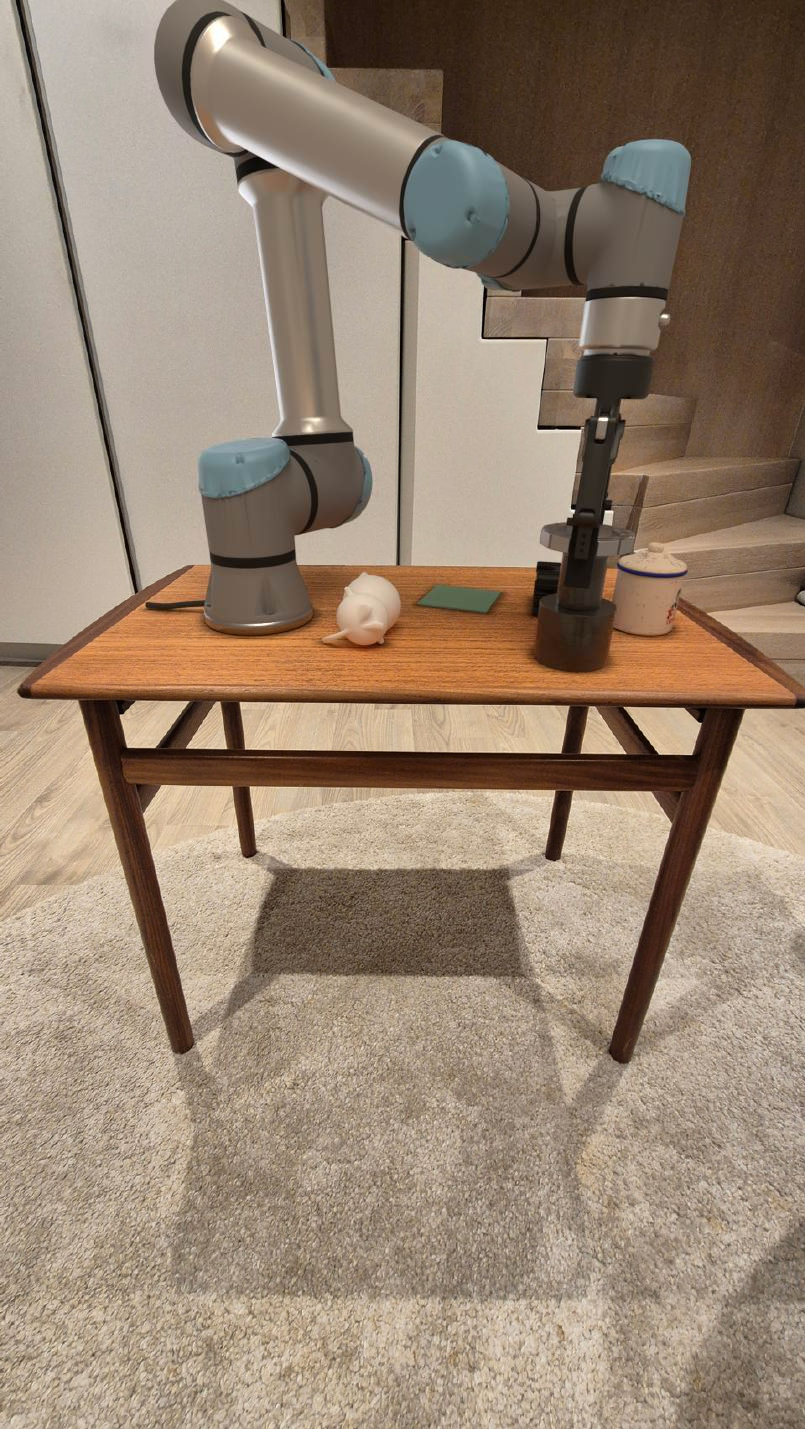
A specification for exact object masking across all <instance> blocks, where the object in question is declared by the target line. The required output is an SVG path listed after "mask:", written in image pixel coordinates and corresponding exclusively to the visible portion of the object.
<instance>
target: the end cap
mask: <svg viewBox="0 0 805 1429" xmlns="http://www.w3.org/2000/svg"><path fill="white" fill-rule="evenodd" d="M560 568H561V562H558V561H543V560H541V561H540V560H538V561H536V569H535V573H536V577H535V579H534V585H533V595H532V606H531V616H532V617H536V618H538V612H539V604H540V600H541V598H543V597H544V596H547V595H551V594H557V590H558V583H559V576H560Z"/></svg>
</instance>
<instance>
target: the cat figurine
mask: <svg viewBox="0 0 805 1429" xmlns="http://www.w3.org/2000/svg"><path fill="white" fill-rule="evenodd" d="M396 588H397V587H396V586H394V584H393V583H392V582H391V581H389V580H388V579H386V578H384V577H382V576H380V575H374V574H368V572H366V571H363V572H361V574H359V576H358V577H357V578H356V579H354V580H353V581H352V582H350V583H349V585H348V586H345V587H344V588H343V590H344V592H343V596H342V601H341V602H339V605H338V607H337V609H336V622H337V626H338V629H339V630H340V631H338V632H337V633H334V634H331V635H327V636H325V637H322V638H321V641H322V642H323V644H329V643H332V642H335V641H336V640H338V639H341V638H343V637H346V639H348V640H349V641H350V642H352V643H354V644H356V645H358V646H359V645H360V646H369V645H373V644H376V643H378V644H379V645H382V644H384V643H385V639H384V635H385V634H386V632H387V631H388V630H390V629H391V628H392V627H393V626H394V625H395V624H396V623H397V621H398V619H399V617H400V615H401V609H402V601H401V596H400V594H399V591H398V590H397V589H396Z"/></svg>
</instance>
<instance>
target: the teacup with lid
mask: <svg viewBox="0 0 805 1429" xmlns="http://www.w3.org/2000/svg"><path fill="white" fill-rule="evenodd" d="M616 567H617V572H616V578H615V582H614V583H615V584H614V588H613V593H612V598H611V602H613V603H614V604H615V605H616V606H617V611H616V617H615V622H614V627H613V629H616V630H618V631H621V632H624V633H627V634H630V635H636V636H646V637H649V636H650V637H655V636H663V635H666V634H668V633H670V632H671V631H672V630H673V626H674V623H675V618H676V614H677V610H678V606H679V602H680V597H681V593H682V589H683V585H684V582H685V581H684V580H685V576H686V575H687V574H688V573H689V572H688V571H689V570H688V566H687V563H686V562H684V561H683V560H681V559H678V558H675V557H674V556H673V555H672V554H671V553H669V552H668V551H665V544H664V543H662V542H657V541H656V542H655V541H654V542H650V543H648V546H647V549H641V550H639V551H637V552H635V553H633V554H627V555H624V556H622V557H620V558H619V560H618V561H617V563H616Z"/></svg>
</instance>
